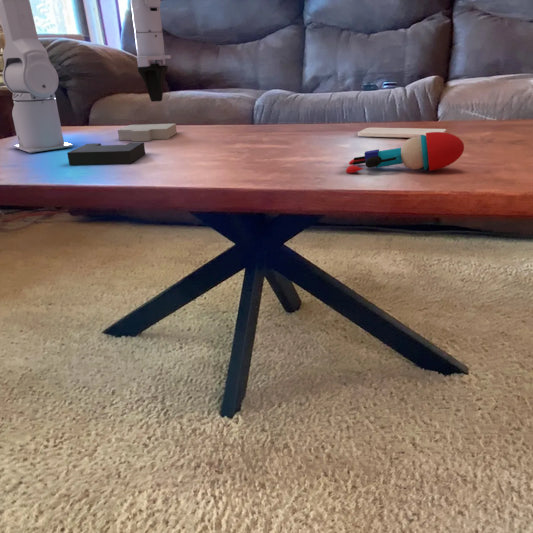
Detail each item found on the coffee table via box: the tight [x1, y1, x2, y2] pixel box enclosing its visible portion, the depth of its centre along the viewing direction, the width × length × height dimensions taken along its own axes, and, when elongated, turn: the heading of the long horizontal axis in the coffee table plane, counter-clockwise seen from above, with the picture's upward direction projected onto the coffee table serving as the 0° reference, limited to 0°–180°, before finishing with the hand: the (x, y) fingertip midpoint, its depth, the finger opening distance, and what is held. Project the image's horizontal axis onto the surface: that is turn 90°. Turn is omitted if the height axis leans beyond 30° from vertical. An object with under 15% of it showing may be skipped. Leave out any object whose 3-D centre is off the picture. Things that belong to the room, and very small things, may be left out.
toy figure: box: [345, 132, 465, 174], centre depth 68 cm, size 8×5×15 cm
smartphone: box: [357, 127, 447, 138], centre depth 95 cm, size 7×1×15 cm
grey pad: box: [117, 123, 178, 143], centre depth 104 cm, size 10×10×2 cm
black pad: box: [66, 141, 146, 166], centre depth 83 cm, size 8×10×2 cm
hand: (156, 101), depth 112 cm, fingers closed
